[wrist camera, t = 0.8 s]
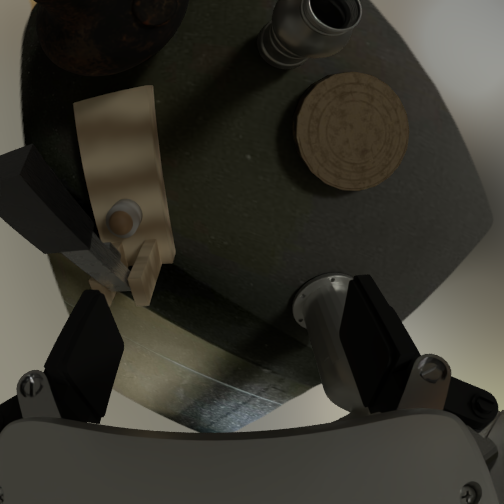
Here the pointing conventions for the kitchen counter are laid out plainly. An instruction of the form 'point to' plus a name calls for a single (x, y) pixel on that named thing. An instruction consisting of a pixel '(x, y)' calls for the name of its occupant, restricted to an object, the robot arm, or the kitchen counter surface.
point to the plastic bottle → (307, 30)
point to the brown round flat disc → (350, 130)
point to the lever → (55, 217)
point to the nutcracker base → (126, 184)
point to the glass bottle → (105, 32)
